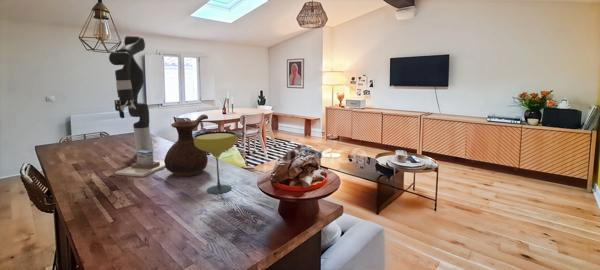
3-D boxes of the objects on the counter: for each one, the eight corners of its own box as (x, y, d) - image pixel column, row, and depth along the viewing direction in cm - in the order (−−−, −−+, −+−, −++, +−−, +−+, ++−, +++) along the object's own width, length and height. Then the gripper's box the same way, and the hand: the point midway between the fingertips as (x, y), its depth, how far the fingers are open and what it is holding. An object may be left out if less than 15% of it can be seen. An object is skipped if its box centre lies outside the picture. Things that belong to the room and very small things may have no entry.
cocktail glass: (222, 180, 158) (219, 129, 153) (247, 187, 146) (244, 133, 141) (190, 191, 144) (184, 136, 139) (214, 200, 133) (210, 141, 128)
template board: (148, 161, 193) (147, 156, 192) (173, 163, 188) (173, 158, 187) (115, 174, 170) (114, 168, 170) (143, 176, 165) (142, 170, 165)
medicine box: (137, 166, 179) (135, 151, 177) (144, 164, 183) (142, 149, 181) (147, 168, 176) (145, 152, 174) (154, 166, 180) (152, 151, 178)
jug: (196, 180, 158) (191, 120, 152) (157, 178, 162) (150, 119, 156) (216, 167, 179) (212, 113, 173) (181, 166, 183) (176, 113, 177)
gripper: (128, 87, 190) (132, 114, 193) (108, 89, 177) (113, 118, 180) (139, 87, 188) (142, 115, 191) (119, 89, 174) (123, 119, 178)
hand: (128, 116), depth 186 cm, fingers open, 8 cm apart
